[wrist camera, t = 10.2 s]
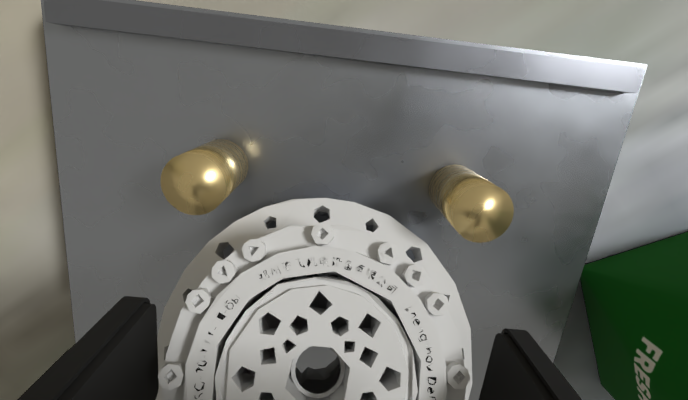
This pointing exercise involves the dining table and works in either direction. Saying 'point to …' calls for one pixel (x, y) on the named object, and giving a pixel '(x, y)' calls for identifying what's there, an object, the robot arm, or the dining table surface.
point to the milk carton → (641, 320)
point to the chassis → (328, 151)
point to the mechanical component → (315, 312)
